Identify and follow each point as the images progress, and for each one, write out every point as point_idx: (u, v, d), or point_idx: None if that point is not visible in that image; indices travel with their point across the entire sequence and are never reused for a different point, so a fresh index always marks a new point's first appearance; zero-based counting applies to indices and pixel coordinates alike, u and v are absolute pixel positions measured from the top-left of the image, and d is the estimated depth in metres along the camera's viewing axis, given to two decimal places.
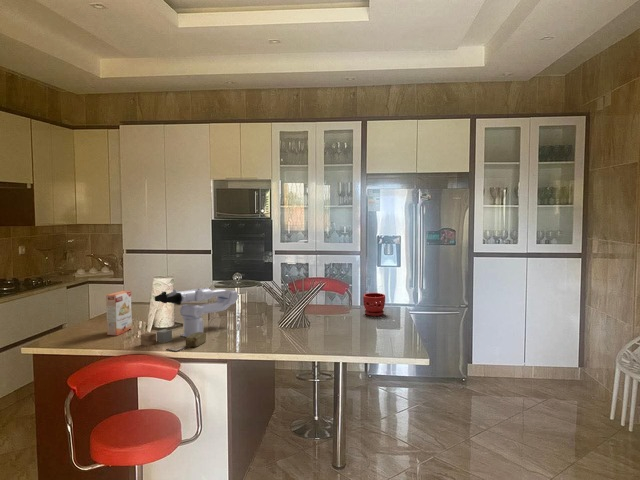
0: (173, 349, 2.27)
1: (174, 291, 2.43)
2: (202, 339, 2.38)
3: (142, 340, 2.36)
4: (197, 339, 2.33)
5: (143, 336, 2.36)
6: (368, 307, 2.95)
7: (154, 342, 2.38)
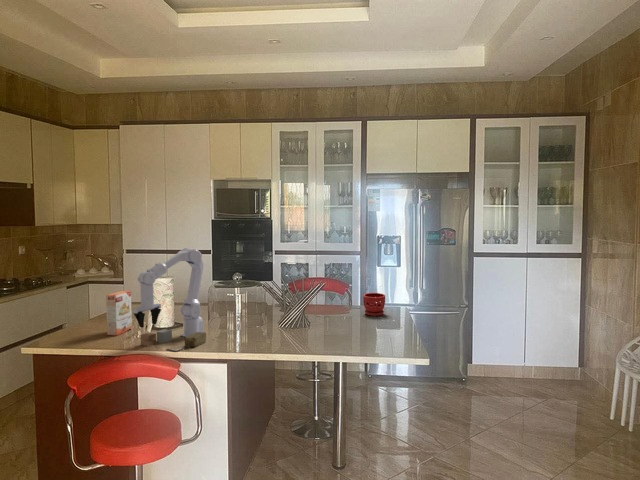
0: (173, 349, 2.27)
1: None
2: (201, 339, 2.37)
3: (142, 340, 2.36)
4: (196, 339, 2.33)
5: (143, 336, 2.36)
6: (368, 307, 2.95)
7: (154, 342, 2.38)
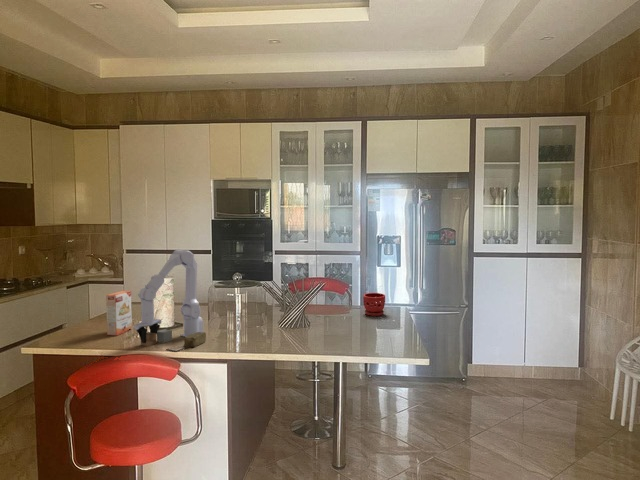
0: (173, 349, 2.27)
1: None
2: (201, 339, 2.37)
3: None
4: (195, 339, 2.33)
5: None
6: (368, 307, 2.95)
7: (154, 342, 2.38)
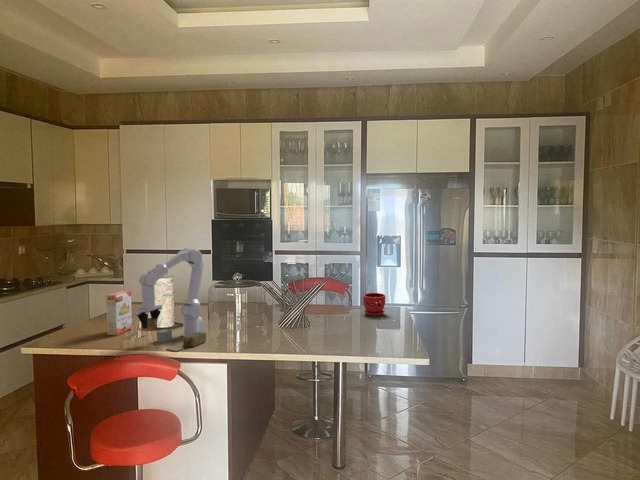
0: (173, 349, 2.27)
1: None
2: (201, 339, 2.37)
3: None
4: (194, 339, 2.33)
5: None
6: (368, 307, 2.95)
7: (155, 328, 2.37)
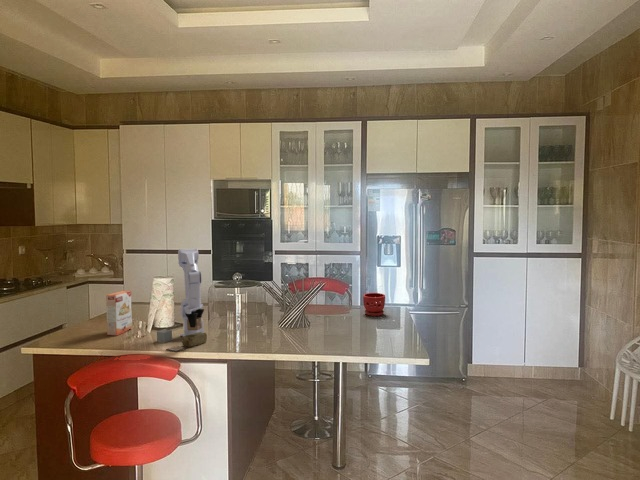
0: (173, 349, 2.27)
1: None
2: (200, 339, 2.37)
3: (189, 325, 2.34)
4: (192, 339, 2.33)
5: None
6: (368, 307, 2.95)
7: (200, 326, 2.38)
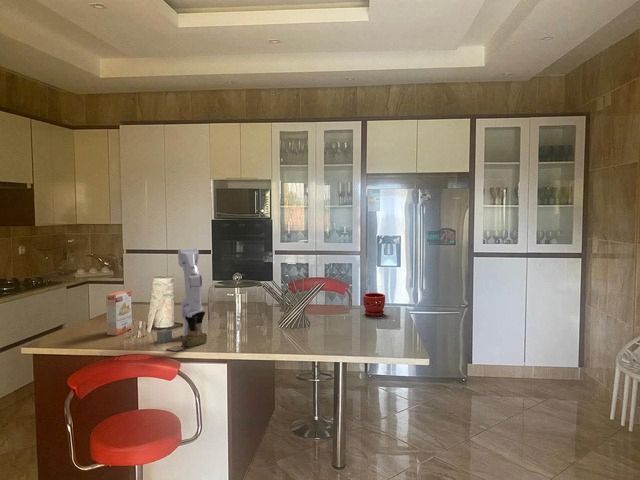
0: (173, 349, 2.27)
1: None
2: (199, 340, 2.37)
3: None
4: (191, 339, 2.33)
5: None
6: (368, 307, 2.95)
7: (200, 332, 2.38)
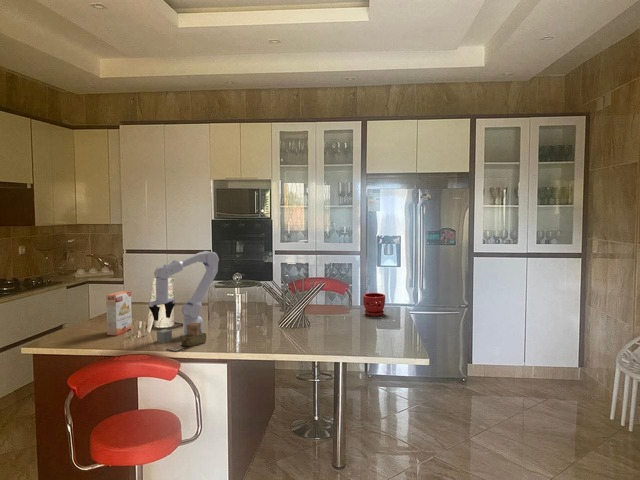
0: (173, 349, 2.27)
1: None
2: (199, 339, 2.37)
3: (189, 330, 2.35)
4: (190, 339, 2.33)
5: (191, 326, 2.35)
6: (368, 307, 2.95)
7: (200, 332, 2.38)
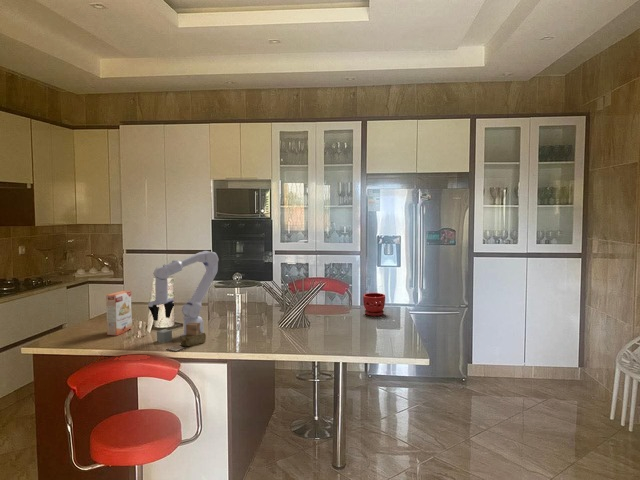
0: (173, 349, 2.27)
1: None
2: (198, 339, 2.37)
3: (188, 330, 2.35)
4: (189, 339, 2.34)
5: (190, 326, 2.35)
6: (368, 307, 2.95)
7: (199, 331, 2.39)
